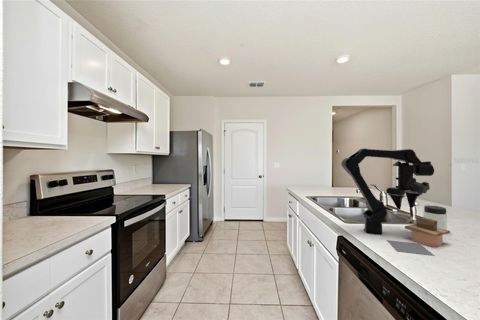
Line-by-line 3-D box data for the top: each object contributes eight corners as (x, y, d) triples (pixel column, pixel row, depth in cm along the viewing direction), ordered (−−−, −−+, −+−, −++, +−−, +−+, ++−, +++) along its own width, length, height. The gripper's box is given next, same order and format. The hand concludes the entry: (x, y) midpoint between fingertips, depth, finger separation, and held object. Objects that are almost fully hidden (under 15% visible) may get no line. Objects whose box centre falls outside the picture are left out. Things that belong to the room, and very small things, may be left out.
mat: (396, 252, 82) (397, 251, 82) (386, 240, 94) (386, 240, 94) (435, 257, 79) (435, 256, 79) (419, 244, 90) (419, 243, 90)
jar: (443, 235, 100) (443, 210, 100) (421, 230, 107) (421, 206, 107) (448, 231, 105) (448, 207, 105) (427, 227, 112) (427, 204, 112)
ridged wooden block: (434, 236, 85) (434, 224, 85) (404, 228, 96) (404, 217, 96) (450, 233, 89) (450, 221, 89) (419, 225, 100) (419, 214, 100)
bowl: (417, 245, 89) (417, 233, 89) (407, 236, 99) (407, 225, 99) (447, 248, 86) (447, 236, 86) (434, 239, 96) (434, 228, 96)
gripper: (412, 178, 90) (411, 214, 91) (437, 176, 97) (437, 210, 98) (385, 175, 101) (385, 208, 101) (410, 174, 108) (410, 205, 108)
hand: (405, 208), depth 102 cm, fingers open, 9 cm apart
